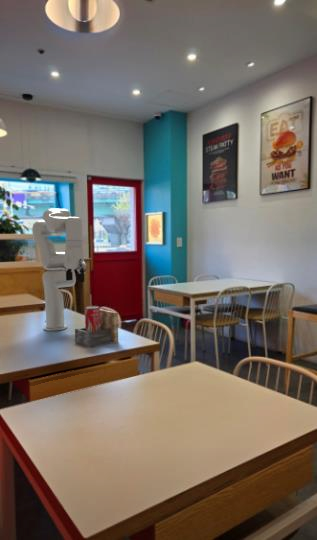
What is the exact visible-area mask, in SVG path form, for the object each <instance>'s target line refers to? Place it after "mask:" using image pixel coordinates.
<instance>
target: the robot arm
mask: <svg viewBox="0 0 317 540" xmlns="http://www.w3.org/2000/svg"><path fill="white" fill-rule="evenodd" d="M42 219H43V220H37V221H36V222H34V223H33V225H32V235H33V239H34V240H35V243H36V244H37V246H38V249H39V255H40V260H41V264H42V267H43V269H44V270H47V271H45V272H43V274H42V276H41V277H42V284H43V289H44V306H45V307H44V308H45V321H44V322H45V326H43V330H44V331H46V332H47V331H48V332H49V331H50V332H54V331H61V330H62V331H63V330H66V329H67V328H68V324H65V309H64V308H65V307H64V306H65V305H64V294H63V293H62V291H61V290H60V288H69V287H74V286H75V284H76V282H78V283H84V282H85V274H86V270H87V263H86V262H85V255H84V247H83V246H84V245H83V220H82V219H83V218H81V217H78V216H72V214H71V212H70V210H69V209H66V208H48V209H46V210H44V212H43V213H42ZM63 236H65V249H64V251H59V252H58V251H56V246H55V243H54V242H53V241H52V240H51V239H50V238H48V237H63ZM75 270H76V271H77V277H76V273H75Z"/></svg>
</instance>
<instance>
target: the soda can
mask: <svg viewBox="0 0 317 540" xmlns="http://www.w3.org/2000/svg"><path fill="white" fill-rule="evenodd" d="M100 309H101V308H100V306H99V305H89V306H86V307H85V310H84V325H85V327H84V328H85V330H86V332H90V333H93V332H98V331H101V315H100Z"/></svg>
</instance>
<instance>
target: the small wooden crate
mask: <svg viewBox="0 0 317 540" xmlns="http://www.w3.org/2000/svg"><path fill="white" fill-rule="evenodd" d="M99 309H100V315H101V331H98V332H93V333H90V332H86V330H85V327H81V328H74V335H75V336H74V338H75V341H74V342H76V343H78V344H81V345H83V346H86V347H90V348H95V347H99V346H102V345H107V344H111V343H113V344H117V343H119V315H118V314H119V313H118V312H117V311H112V310H108V309H103V308H99Z"/></svg>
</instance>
